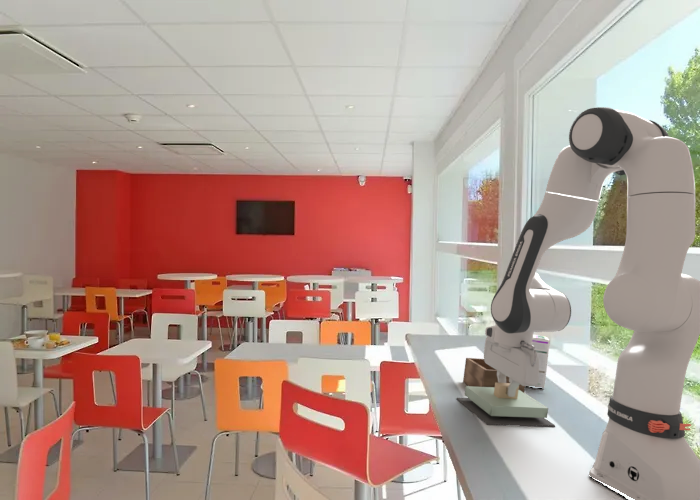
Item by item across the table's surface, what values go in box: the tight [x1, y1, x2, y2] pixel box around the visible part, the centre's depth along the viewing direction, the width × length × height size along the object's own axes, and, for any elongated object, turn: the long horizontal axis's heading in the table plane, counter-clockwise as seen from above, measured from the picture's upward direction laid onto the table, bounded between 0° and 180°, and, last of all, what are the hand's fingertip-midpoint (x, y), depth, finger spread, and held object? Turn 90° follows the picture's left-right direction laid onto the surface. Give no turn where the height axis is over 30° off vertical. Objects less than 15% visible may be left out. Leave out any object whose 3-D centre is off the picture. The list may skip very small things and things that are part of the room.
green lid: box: [464, 383, 549, 419], centre depth 134 cm, size 14×14×5 cm
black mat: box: [456, 397, 556, 428], centre depth 135 cm, size 17×17×1 cm
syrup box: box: [532, 334, 551, 389], centre depth 162 cm, size 6×6×14 cm
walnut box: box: [462, 357, 526, 393], centre depth 153 cm, size 12×12×7 cm
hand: (506, 393), depth 134 cm, fingers closed on green lid, 2 cm apart
